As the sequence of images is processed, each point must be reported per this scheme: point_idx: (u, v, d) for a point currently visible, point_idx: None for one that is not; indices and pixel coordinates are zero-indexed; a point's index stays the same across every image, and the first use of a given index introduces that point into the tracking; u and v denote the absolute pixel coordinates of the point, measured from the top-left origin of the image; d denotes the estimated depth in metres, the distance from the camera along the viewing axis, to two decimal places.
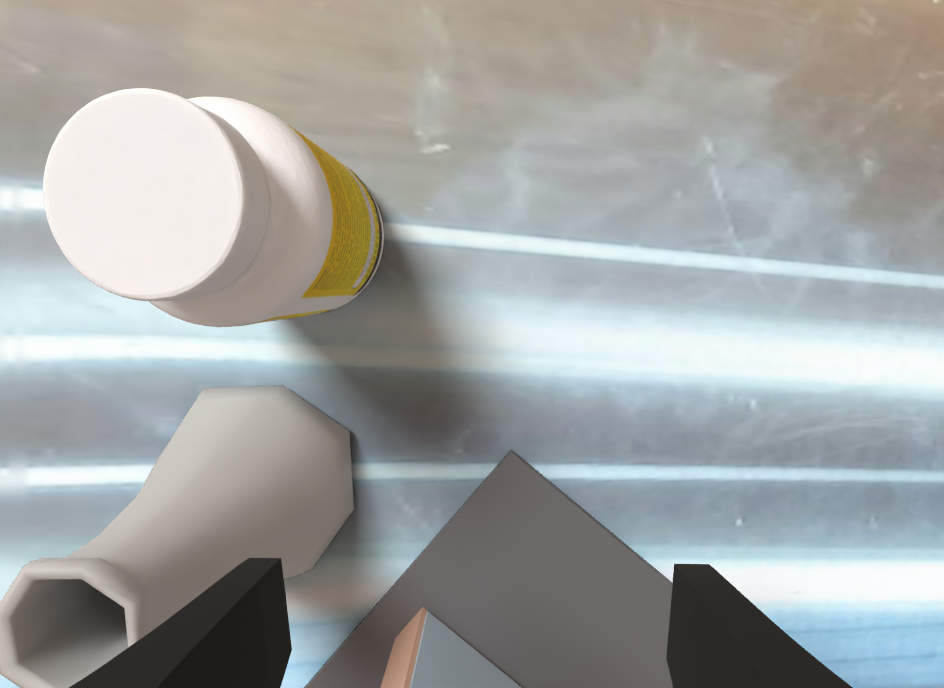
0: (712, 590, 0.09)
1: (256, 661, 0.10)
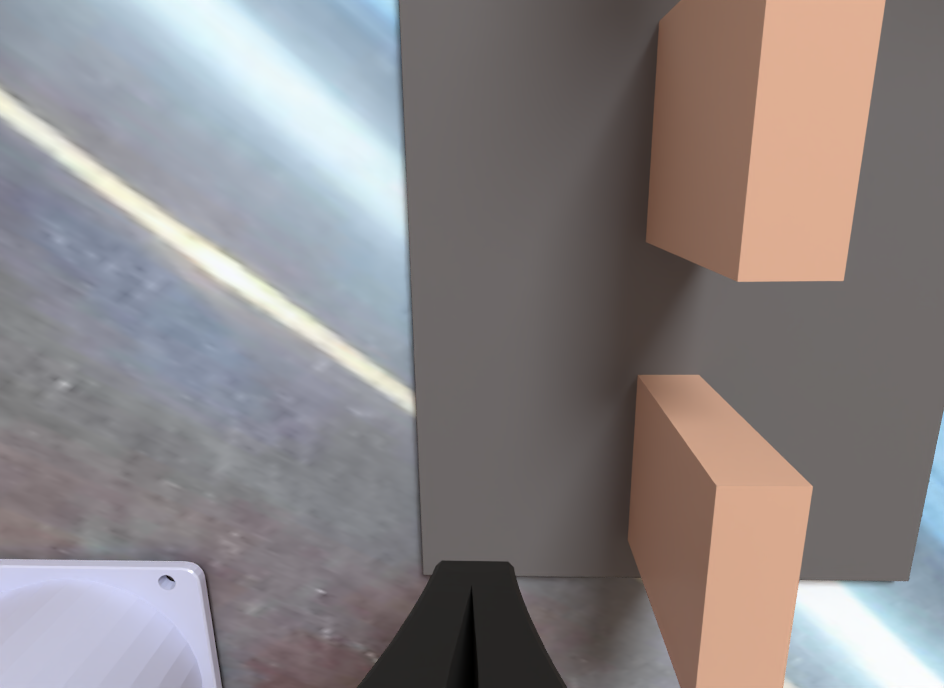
0: (489, 586, 0.10)
1: (470, 666, 0.10)
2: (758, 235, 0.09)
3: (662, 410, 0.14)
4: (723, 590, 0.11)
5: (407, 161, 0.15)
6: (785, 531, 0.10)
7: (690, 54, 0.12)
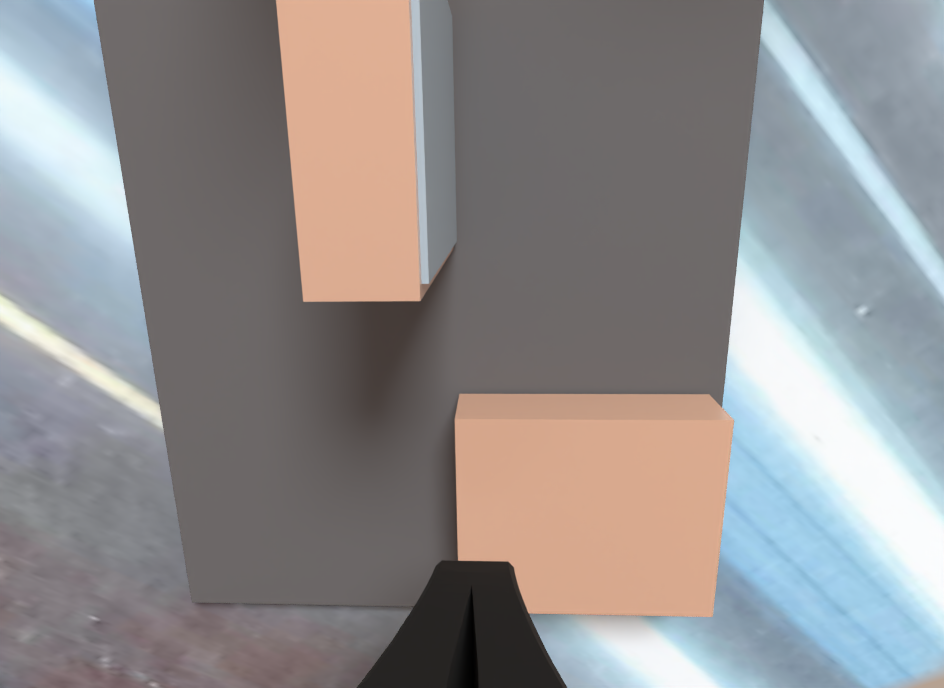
0: (488, 586, 0.10)
1: (470, 666, 0.10)
2: (315, 249, 0.08)
3: (569, 420, 0.13)
4: None
5: (121, 162, 0.14)
6: None
7: None
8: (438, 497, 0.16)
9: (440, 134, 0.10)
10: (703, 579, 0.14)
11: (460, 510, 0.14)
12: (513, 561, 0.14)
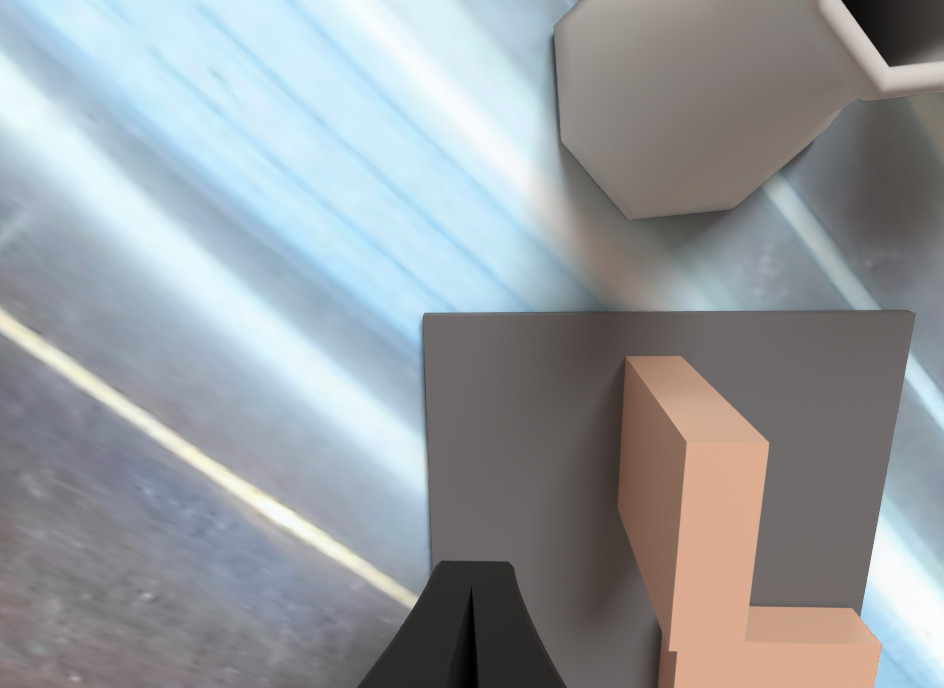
0: (488, 586, 0.10)
1: (469, 666, 0.10)
2: (682, 624, 0.13)
3: (762, 643, 0.18)
4: None
5: (429, 448, 0.19)
6: None
7: (644, 429, 0.15)
8: (639, 674, 0.21)
9: None
10: None
11: None
12: None
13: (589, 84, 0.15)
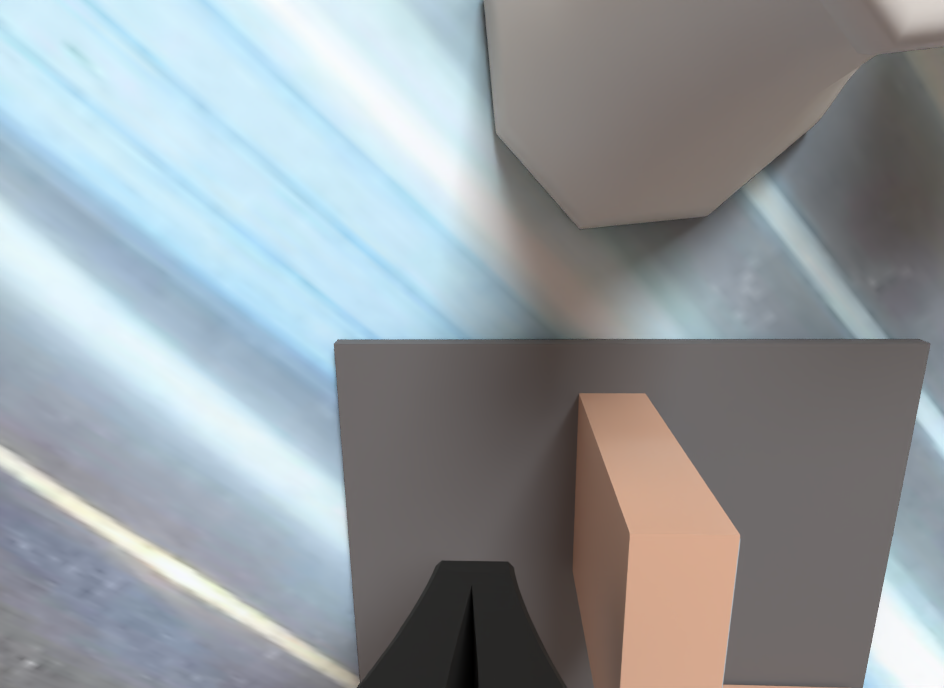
0: (488, 586, 0.10)
1: (470, 666, 0.10)
2: None
3: None
4: None
5: (347, 500, 0.16)
6: None
7: (593, 491, 0.12)
8: None
9: None
10: None
11: None
12: None
13: (520, 60, 0.11)
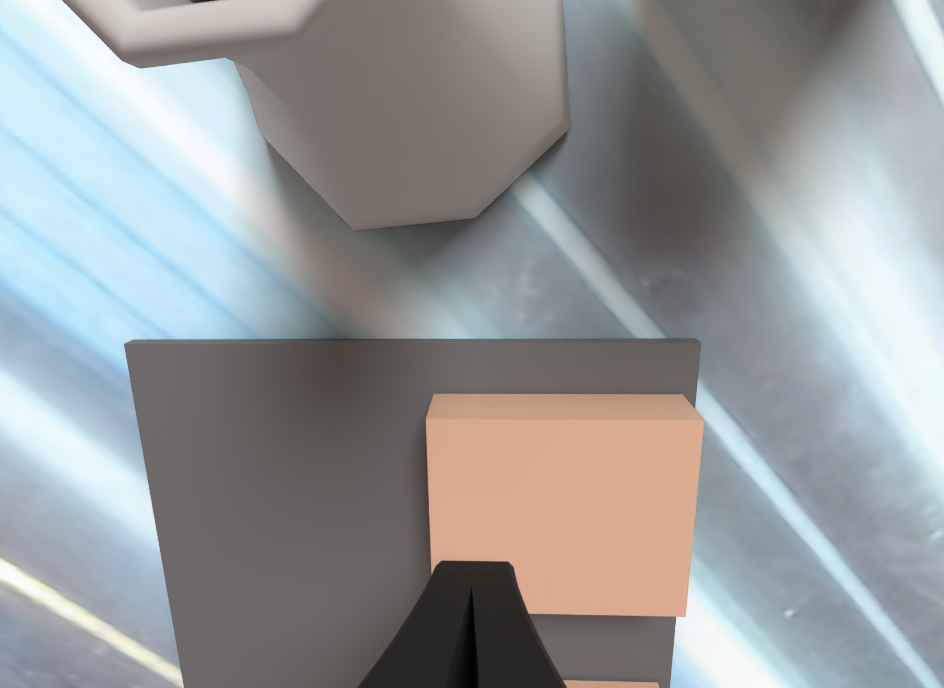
0: (488, 586, 0.10)
1: (469, 666, 0.10)
2: None
3: None
4: None
5: (151, 497, 0.16)
6: None
7: (547, 468, 0.13)
8: None
9: None
10: None
11: None
12: None
13: None
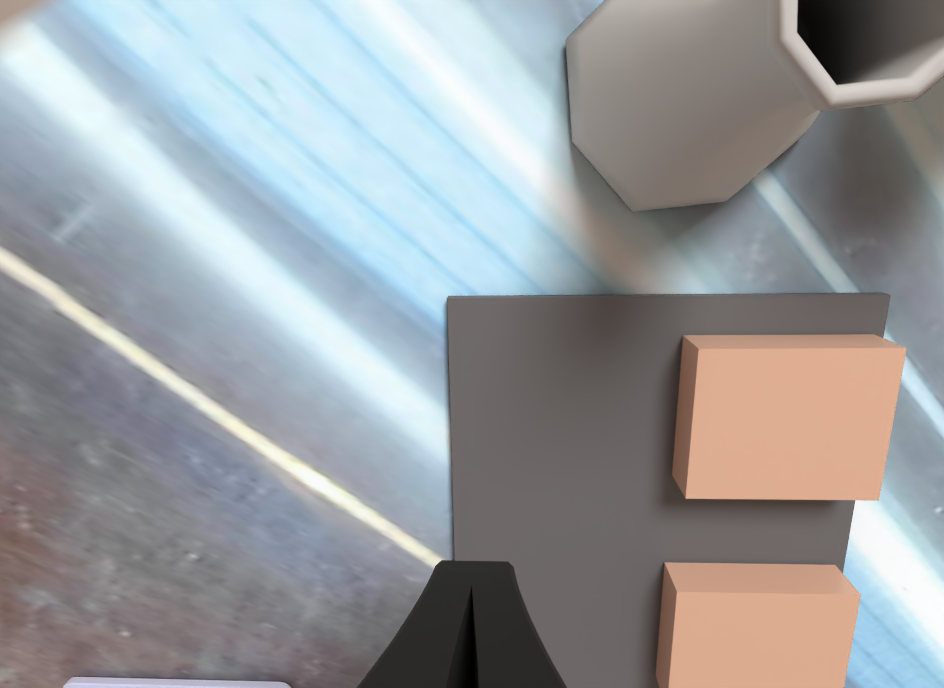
0: (488, 586, 0.10)
1: (470, 666, 0.10)
2: None
3: (752, 593, 0.20)
4: None
5: (451, 419, 0.21)
6: None
7: (785, 385, 0.18)
8: (642, 627, 0.23)
9: None
10: None
11: (674, 647, 0.21)
12: (706, 679, 0.21)
13: (597, 91, 0.16)
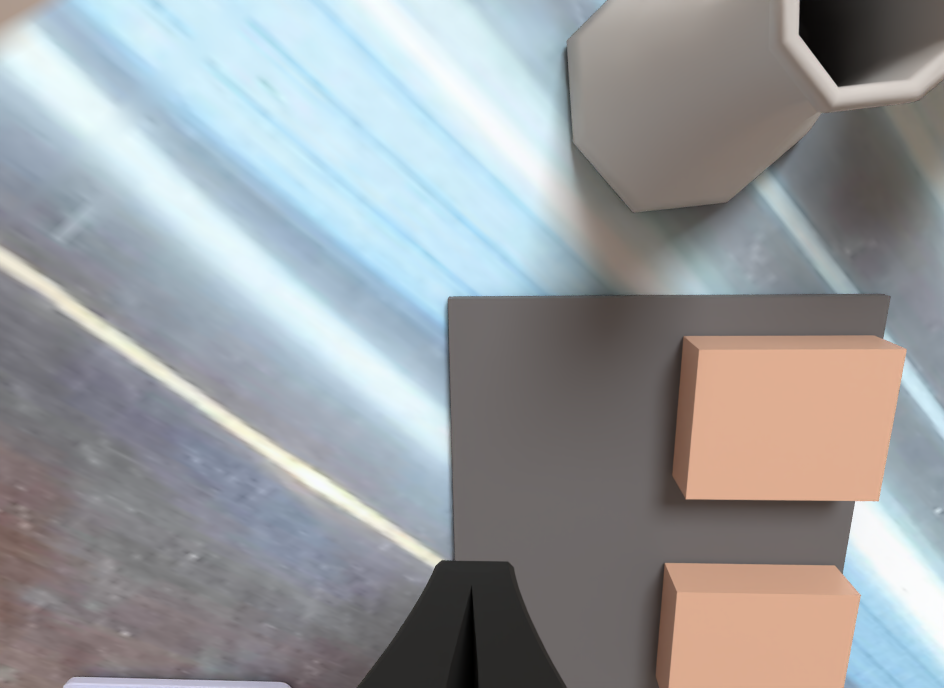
0: (488, 586, 0.10)
1: (470, 666, 0.10)
2: None
3: (752, 594, 0.20)
4: None
5: (452, 419, 0.21)
6: None
7: (785, 386, 0.18)
8: (642, 627, 0.23)
9: None
10: None
11: (674, 647, 0.21)
12: (706, 679, 0.21)
13: (599, 93, 0.17)
